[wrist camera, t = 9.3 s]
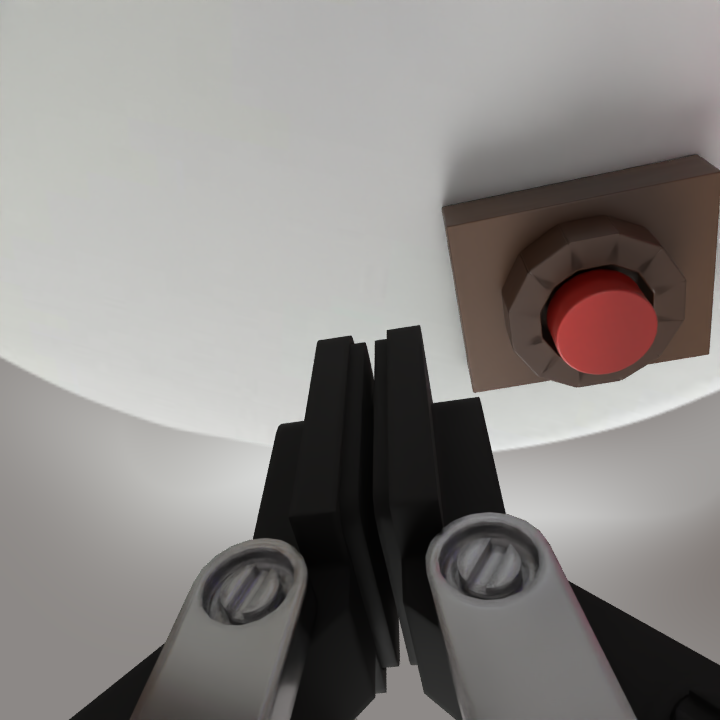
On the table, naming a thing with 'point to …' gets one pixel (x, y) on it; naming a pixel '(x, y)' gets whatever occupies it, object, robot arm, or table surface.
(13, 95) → the table surface
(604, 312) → the red button
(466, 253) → the button block
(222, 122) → the table surface
